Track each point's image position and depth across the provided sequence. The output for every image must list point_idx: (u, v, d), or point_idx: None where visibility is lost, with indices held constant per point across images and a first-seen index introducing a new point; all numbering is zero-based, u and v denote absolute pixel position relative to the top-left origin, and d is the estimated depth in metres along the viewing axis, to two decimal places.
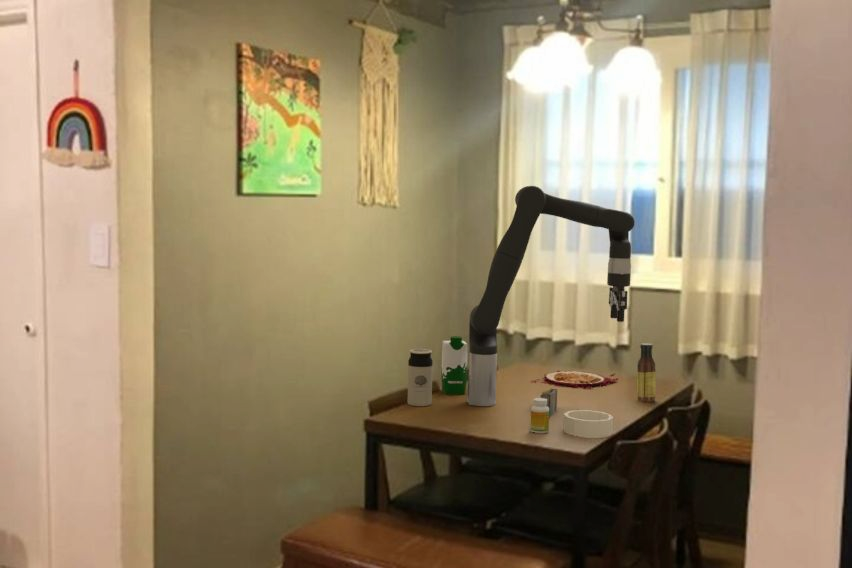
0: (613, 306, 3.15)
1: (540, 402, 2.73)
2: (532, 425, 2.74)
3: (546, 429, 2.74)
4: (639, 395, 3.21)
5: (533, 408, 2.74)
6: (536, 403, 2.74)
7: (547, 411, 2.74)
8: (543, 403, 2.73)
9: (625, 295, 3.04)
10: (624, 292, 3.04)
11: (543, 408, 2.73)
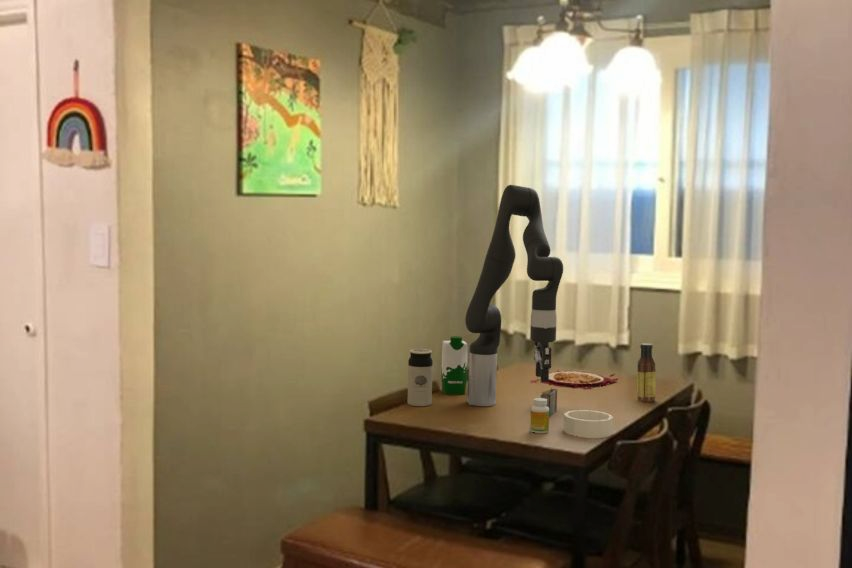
0: (538, 363, 2.78)
1: (540, 402, 2.73)
2: (532, 425, 2.74)
3: (546, 429, 2.74)
4: (639, 395, 3.21)
5: (533, 408, 2.74)
6: (536, 403, 2.74)
7: (547, 411, 2.74)
8: (543, 403, 2.73)
9: (549, 352, 2.67)
10: (548, 349, 2.67)
11: (543, 408, 2.73)
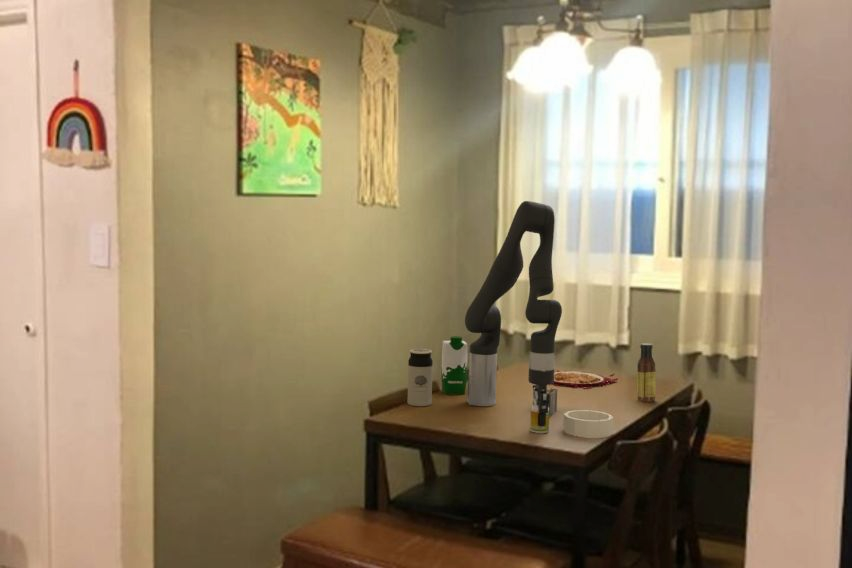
0: None
1: None
2: (532, 425, 2.74)
3: (546, 429, 2.74)
4: (639, 395, 3.21)
5: (533, 408, 2.74)
6: None
7: None
8: None
9: (546, 399, 2.68)
10: (545, 396, 2.68)
11: (543, 408, 2.73)
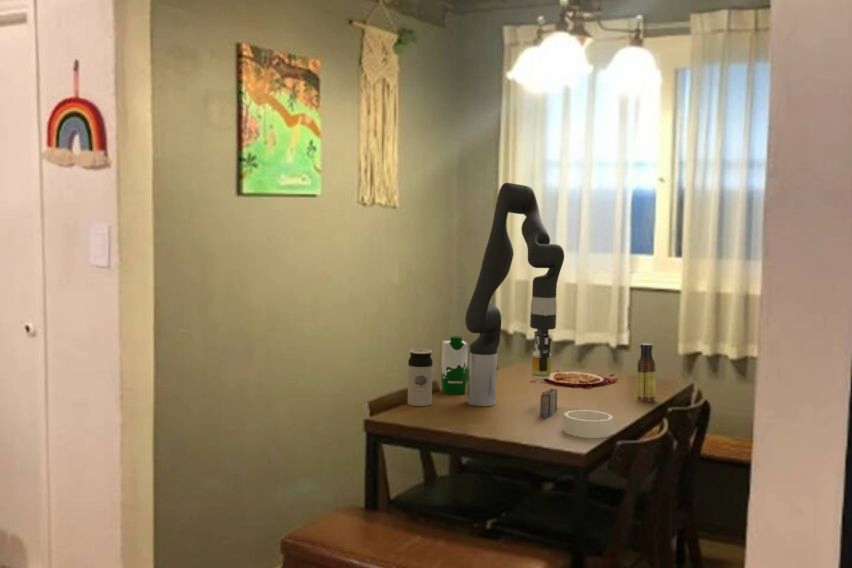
0: None
1: None
2: (533, 370, 2.73)
3: (548, 374, 2.73)
4: (639, 395, 3.21)
5: (535, 353, 2.73)
6: None
7: (549, 356, 2.72)
8: None
9: (548, 343, 2.67)
10: (547, 340, 2.67)
11: None
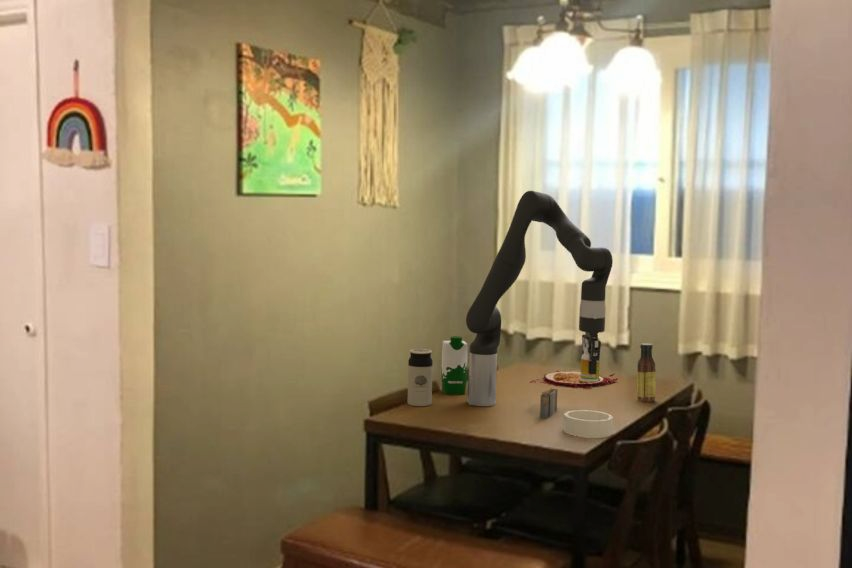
0: None
1: None
2: (583, 373, 2.74)
3: (597, 377, 2.73)
4: (639, 395, 3.21)
5: (584, 356, 2.74)
6: (586, 351, 2.73)
7: None
8: None
9: (598, 346, 2.68)
10: (597, 343, 2.68)
11: None
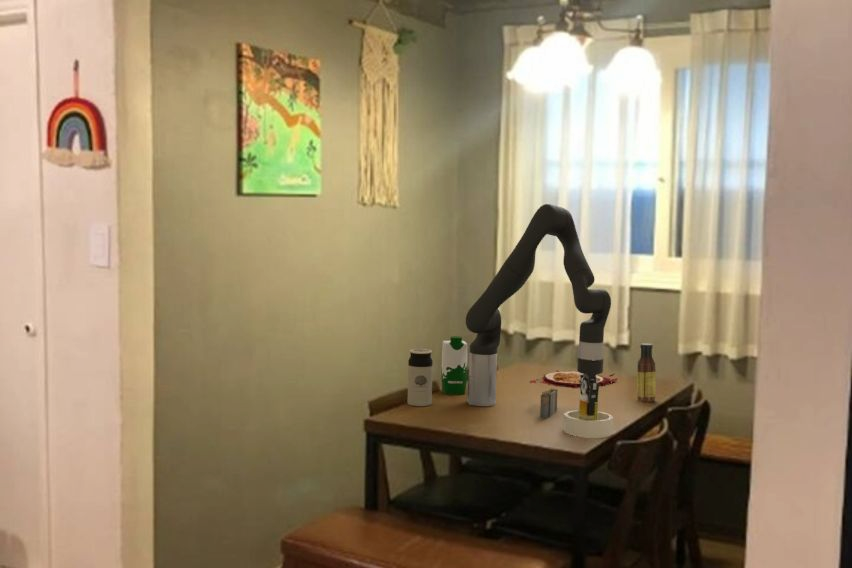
0: None
1: None
2: (581, 414, 2.75)
3: (595, 418, 2.75)
4: (639, 395, 3.21)
5: (582, 397, 2.75)
6: None
7: None
8: None
9: (596, 388, 2.69)
10: (595, 385, 2.69)
11: (592, 397, 2.74)
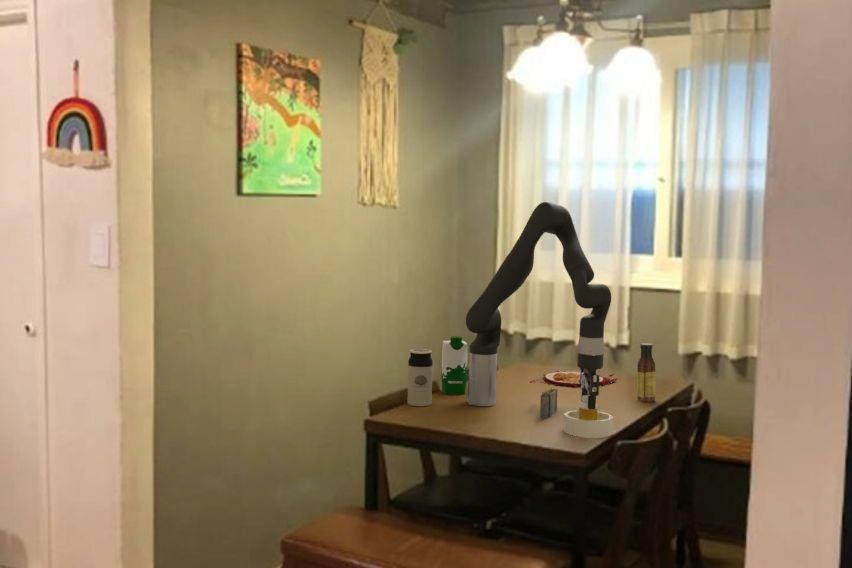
0: (584, 389, 2.80)
1: None
2: None
3: None
4: (639, 395, 3.21)
5: (582, 405, 2.75)
6: (584, 400, 2.74)
7: (596, 408, 2.74)
8: None
9: (597, 380, 2.68)
10: (595, 377, 2.68)
11: None
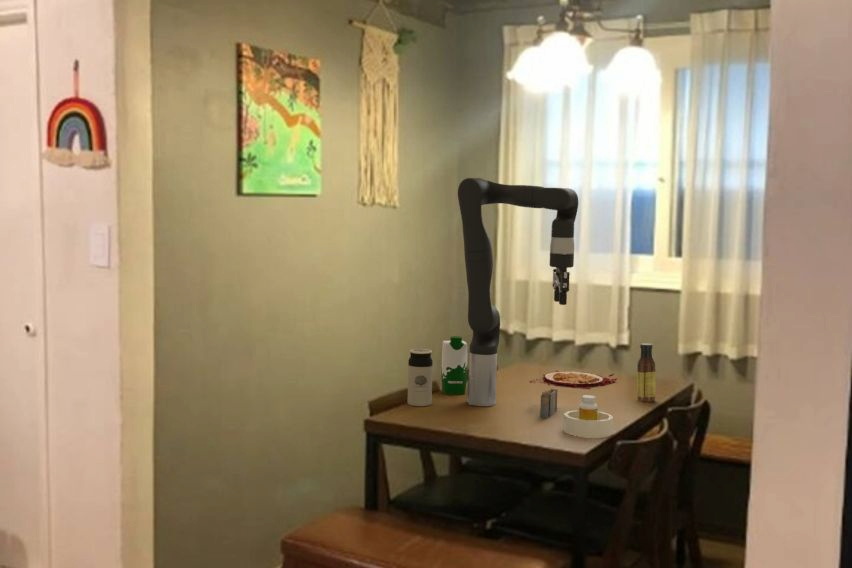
0: (557, 289, 2.98)
1: (589, 399, 2.74)
2: None
3: None
4: (639, 395, 3.21)
5: (582, 405, 2.75)
6: (584, 400, 2.74)
7: (596, 408, 2.74)
8: (592, 400, 2.74)
9: (567, 276, 2.86)
10: (566, 273, 2.86)
11: (592, 405, 2.74)
